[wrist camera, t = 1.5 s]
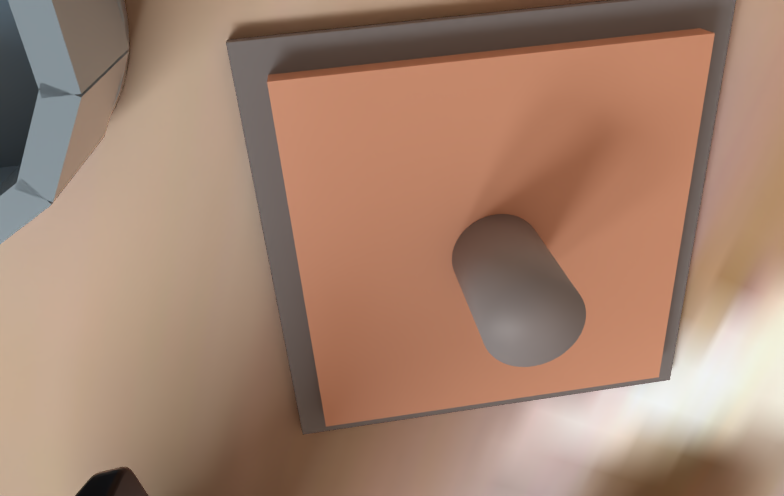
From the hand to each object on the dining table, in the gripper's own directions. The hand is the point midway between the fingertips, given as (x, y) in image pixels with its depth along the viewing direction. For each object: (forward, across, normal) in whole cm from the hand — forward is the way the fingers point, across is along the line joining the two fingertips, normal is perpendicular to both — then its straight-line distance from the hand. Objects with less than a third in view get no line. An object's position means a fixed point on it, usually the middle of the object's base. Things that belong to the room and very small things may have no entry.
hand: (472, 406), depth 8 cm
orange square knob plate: (+13, -3, +6) cm, 14 cm away
